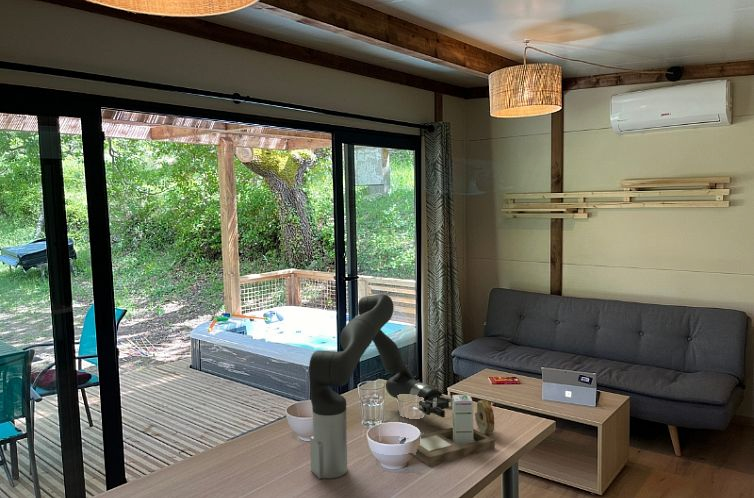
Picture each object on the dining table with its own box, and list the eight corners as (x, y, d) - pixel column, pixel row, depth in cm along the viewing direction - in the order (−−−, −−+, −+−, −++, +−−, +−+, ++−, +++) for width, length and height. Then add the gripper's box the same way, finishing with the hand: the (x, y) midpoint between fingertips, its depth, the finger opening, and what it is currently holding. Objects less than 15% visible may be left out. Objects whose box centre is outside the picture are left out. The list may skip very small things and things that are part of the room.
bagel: (496, 438, 176) (496, 406, 175) (485, 438, 176) (485, 407, 175) (485, 425, 186) (485, 395, 186) (474, 426, 186) (474, 396, 185)
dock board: (429, 466, 158) (428, 456, 157) (402, 447, 170) (402, 438, 170) (494, 448, 169) (494, 439, 169) (465, 432, 181) (465, 423, 181)
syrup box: (473, 448, 169) (474, 400, 168) (454, 448, 169) (454, 400, 168) (471, 440, 175) (471, 394, 174) (451, 440, 175) (451, 394, 174)
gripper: (407, 389, 185) (436, 403, 171) (443, 382, 192) (473, 395, 177) (407, 411, 185) (436, 428, 171) (443, 404, 192) (473, 419, 178)
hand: (455, 411), depth 174 cm, fingers open, 8 cm apart
